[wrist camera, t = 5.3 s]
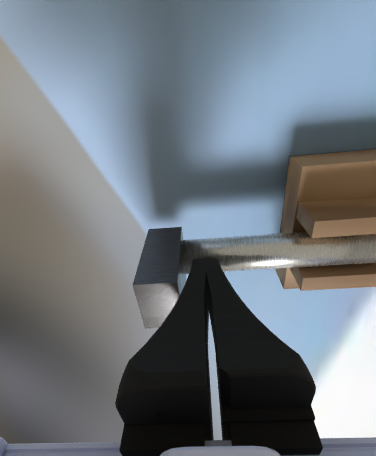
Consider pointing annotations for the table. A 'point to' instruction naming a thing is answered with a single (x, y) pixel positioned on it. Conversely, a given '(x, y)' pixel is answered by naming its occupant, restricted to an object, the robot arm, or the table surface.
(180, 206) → the table surface
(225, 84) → the table surface
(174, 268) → the grey metal hammer
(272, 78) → the table surface
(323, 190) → the wooden frame
